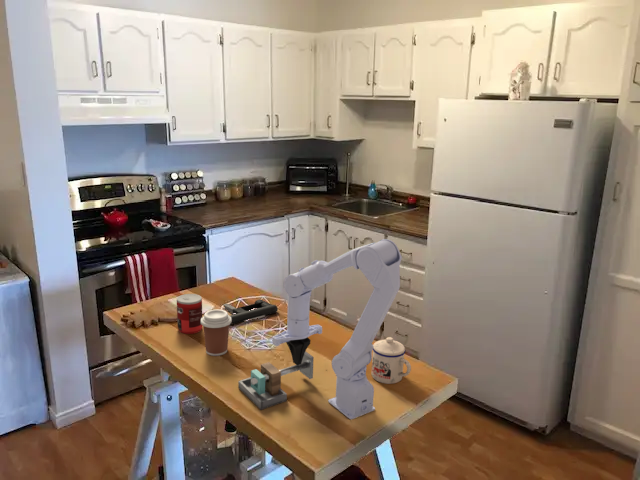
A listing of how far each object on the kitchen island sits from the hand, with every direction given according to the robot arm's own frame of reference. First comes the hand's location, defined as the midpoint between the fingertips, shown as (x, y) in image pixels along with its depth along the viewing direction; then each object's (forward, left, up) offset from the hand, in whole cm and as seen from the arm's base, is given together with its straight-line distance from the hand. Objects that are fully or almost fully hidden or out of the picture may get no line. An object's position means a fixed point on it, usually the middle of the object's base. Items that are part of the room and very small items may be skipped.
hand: (297, 363), depth 141 cm
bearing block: (0, +8, -6) cm, 10 cm away
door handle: (+49, -10, -6) cm, 50 cm away
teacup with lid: (-12, -24, -6) cm, 27 cm away
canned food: (+46, +11, -6) cm, 48 cm away
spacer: (0, +12, -4) cm, 13 cm away
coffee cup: (+28, +10, -6) cm, 31 cm away
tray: (0, +11, -6) cm, 12 cm away
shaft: (0, +5, -4) cm, 7 cm away
